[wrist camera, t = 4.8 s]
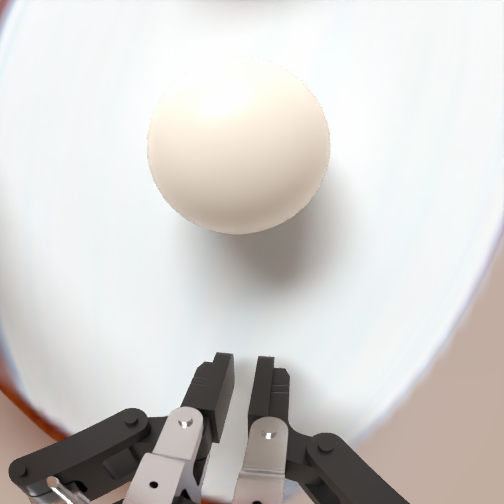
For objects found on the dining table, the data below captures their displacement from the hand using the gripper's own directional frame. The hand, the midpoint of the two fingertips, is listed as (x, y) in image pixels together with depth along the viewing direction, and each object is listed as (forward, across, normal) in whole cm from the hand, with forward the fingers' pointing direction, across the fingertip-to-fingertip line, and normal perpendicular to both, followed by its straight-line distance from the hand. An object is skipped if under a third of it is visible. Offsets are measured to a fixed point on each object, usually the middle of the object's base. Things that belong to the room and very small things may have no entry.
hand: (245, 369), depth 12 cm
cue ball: (-1, 0, -10) cm, 10 cm away
